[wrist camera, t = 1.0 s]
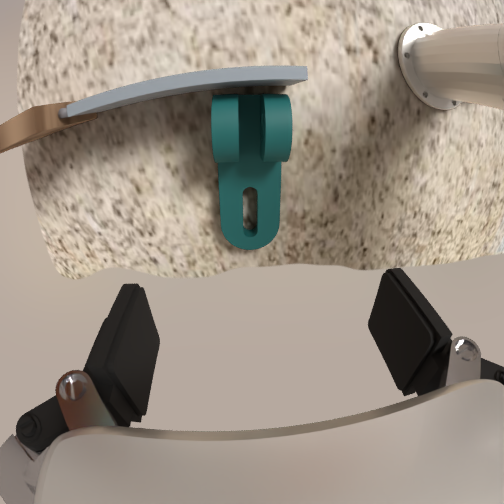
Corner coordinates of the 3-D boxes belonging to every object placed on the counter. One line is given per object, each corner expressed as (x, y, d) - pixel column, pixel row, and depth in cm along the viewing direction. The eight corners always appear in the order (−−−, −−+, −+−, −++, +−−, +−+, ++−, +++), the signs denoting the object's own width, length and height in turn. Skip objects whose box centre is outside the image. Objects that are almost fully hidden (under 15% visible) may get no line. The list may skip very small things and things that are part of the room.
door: (289, 75, 25) (307, 66, 18) (290, 85, 25) (308, 79, 19) (94, 104, 25) (57, 108, 18) (95, 113, 25) (58, 120, 18)
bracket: (217, 96, 26) (210, 93, 20) (279, 95, 27) (292, 93, 20) (223, 241, 35) (220, 277, 29) (275, 240, 36) (285, 275, 29)
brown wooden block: (95, 99, 25) (33, 106, 14) (97, 118, 26) (36, 133, 16) (36, 122, 24) (-26, 142, 14) (39, 138, 26) (-22, 163, 15)
